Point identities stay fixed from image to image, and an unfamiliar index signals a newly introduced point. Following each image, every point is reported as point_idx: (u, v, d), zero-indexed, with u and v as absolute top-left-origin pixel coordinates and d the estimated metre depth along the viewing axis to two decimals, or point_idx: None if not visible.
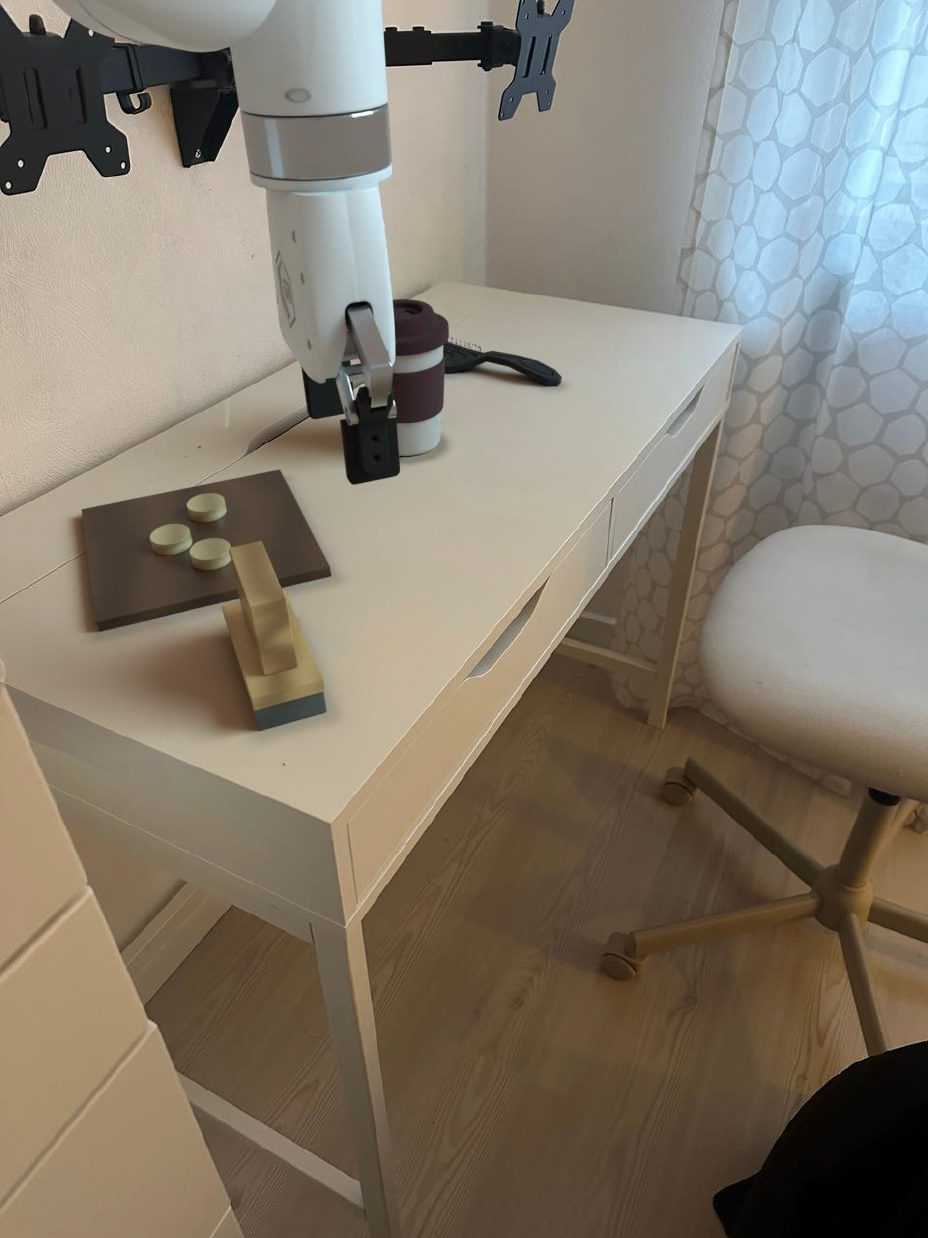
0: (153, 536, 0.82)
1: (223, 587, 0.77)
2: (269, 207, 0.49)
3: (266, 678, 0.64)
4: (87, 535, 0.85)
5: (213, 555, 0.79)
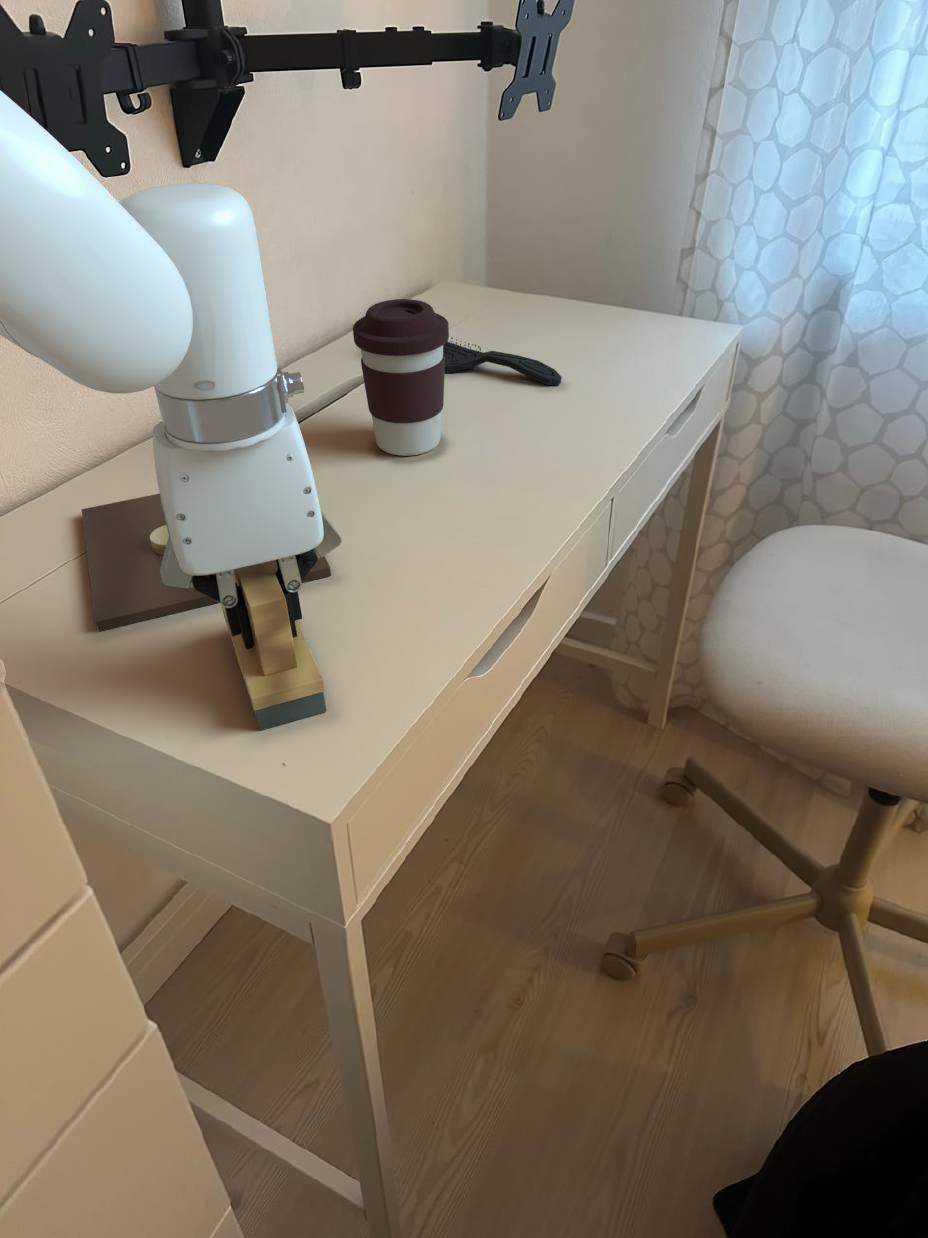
0: (153, 536, 0.82)
1: None
2: None
3: (266, 678, 0.64)
4: (87, 535, 0.85)
5: None
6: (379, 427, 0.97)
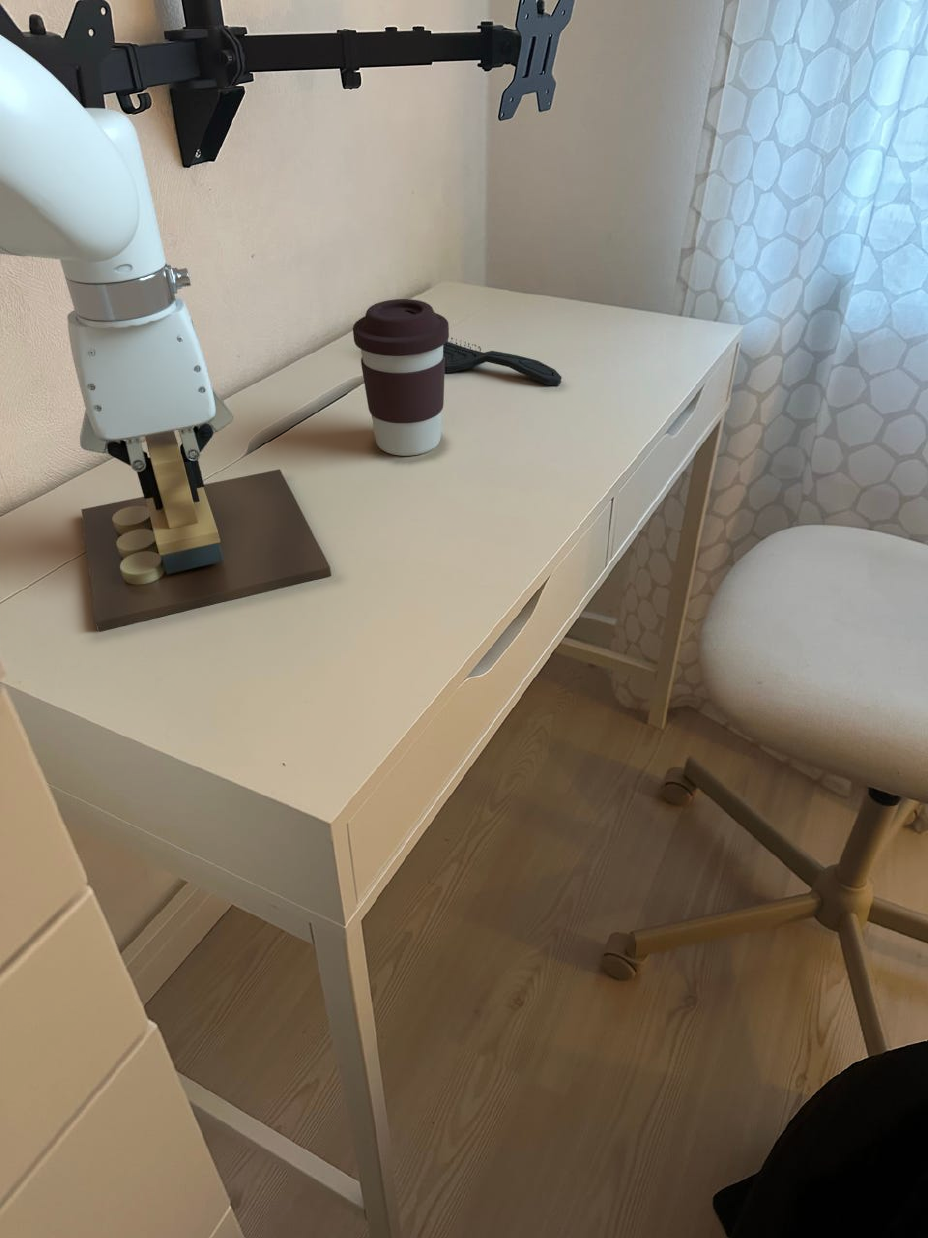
0: (119, 542, 0.81)
1: (223, 587, 0.77)
2: None
3: (171, 530, 0.78)
4: (87, 535, 0.85)
5: (144, 569, 0.78)
6: (379, 427, 0.97)
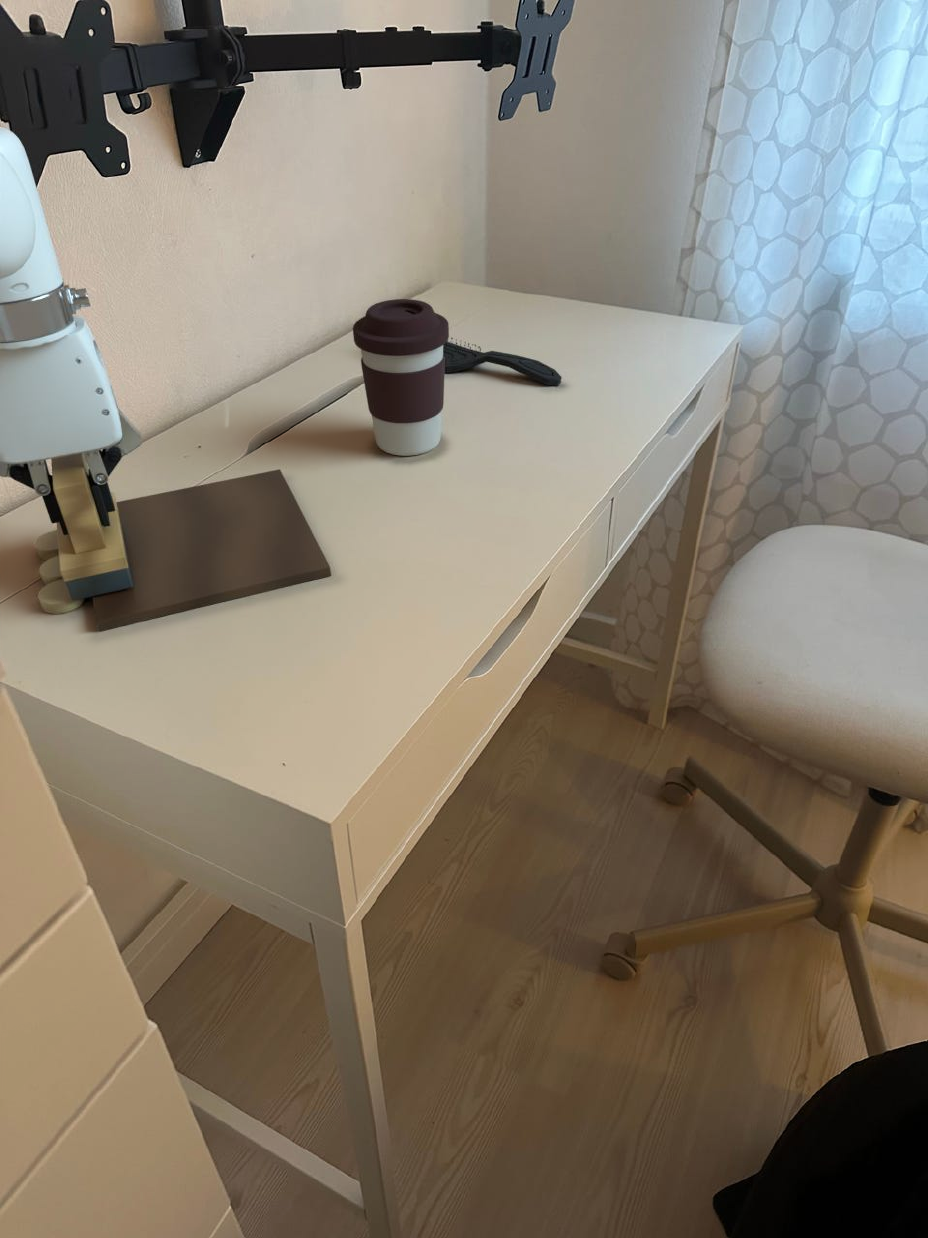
0: (42, 569, 0.80)
1: (223, 587, 0.77)
2: None
3: (77, 556, 0.75)
4: None
5: (63, 598, 0.76)
6: (379, 427, 0.97)
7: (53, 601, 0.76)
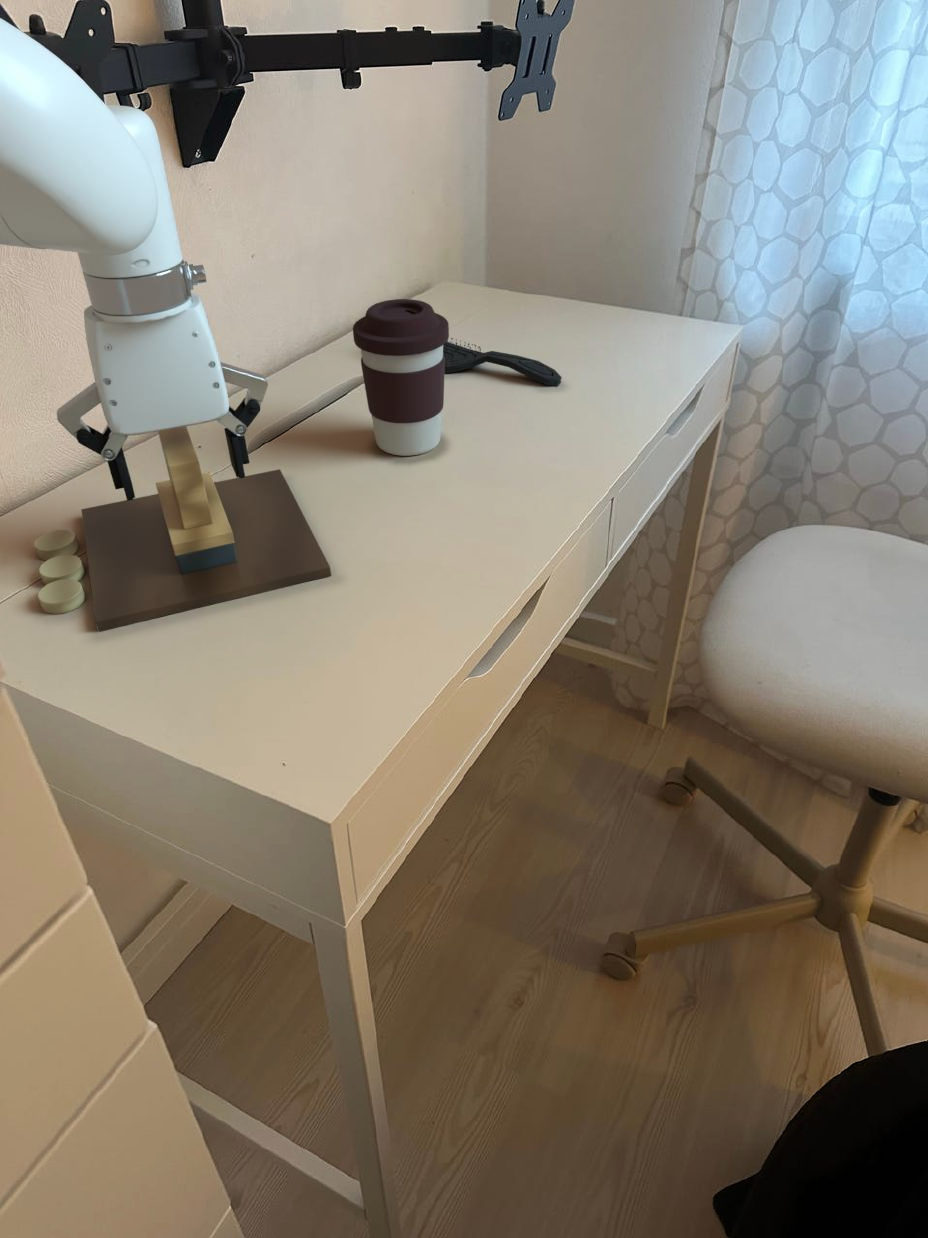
0: (42, 569, 0.80)
1: (223, 587, 0.77)
2: None
3: (186, 531, 0.79)
4: (87, 535, 0.85)
5: (63, 598, 0.76)
6: (379, 427, 0.97)
7: (53, 601, 0.76)
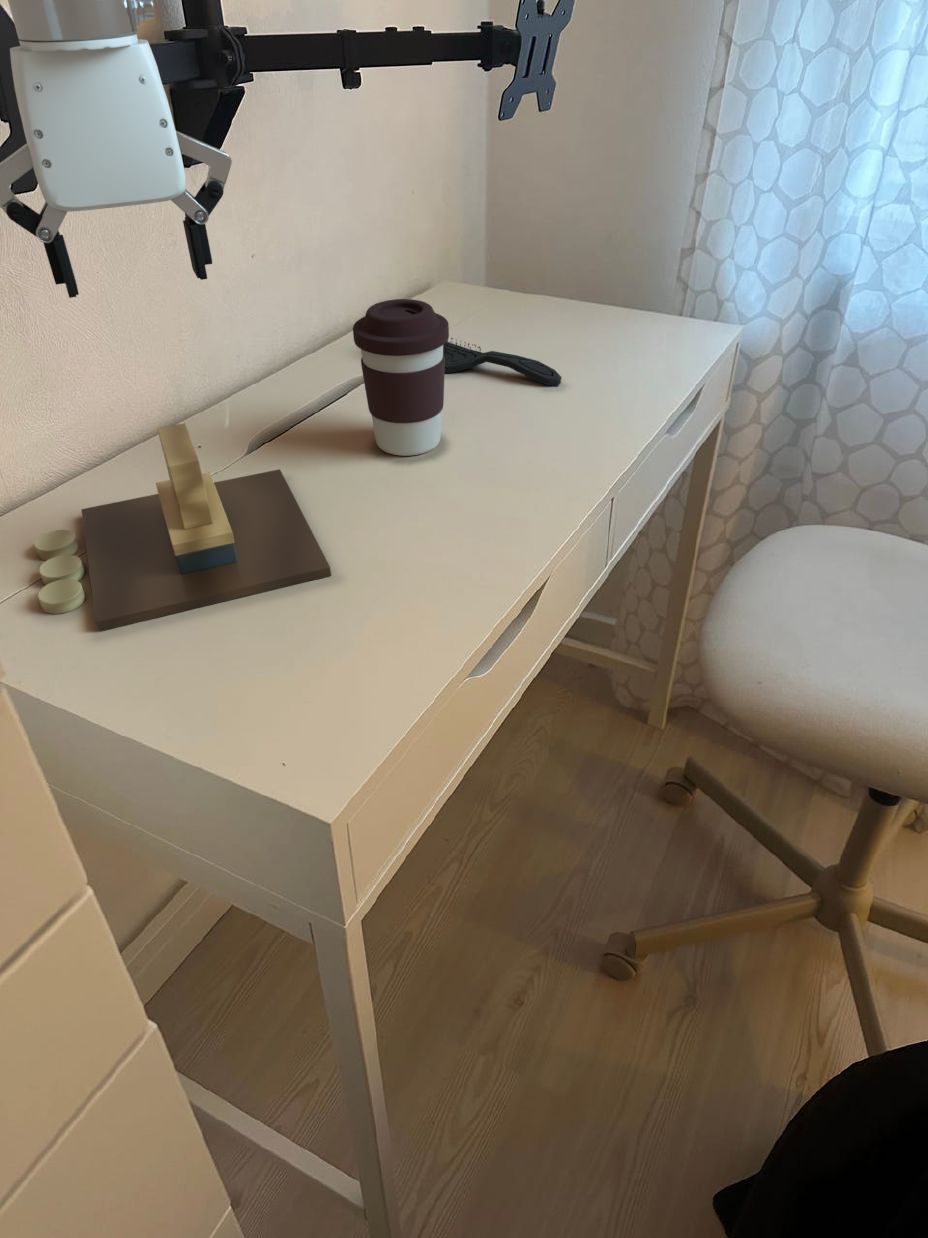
0: (42, 569, 0.80)
1: (223, 587, 0.77)
2: None
3: (186, 531, 0.79)
4: (87, 535, 0.85)
5: (63, 598, 0.76)
6: (379, 427, 0.97)
7: (53, 601, 0.76)
